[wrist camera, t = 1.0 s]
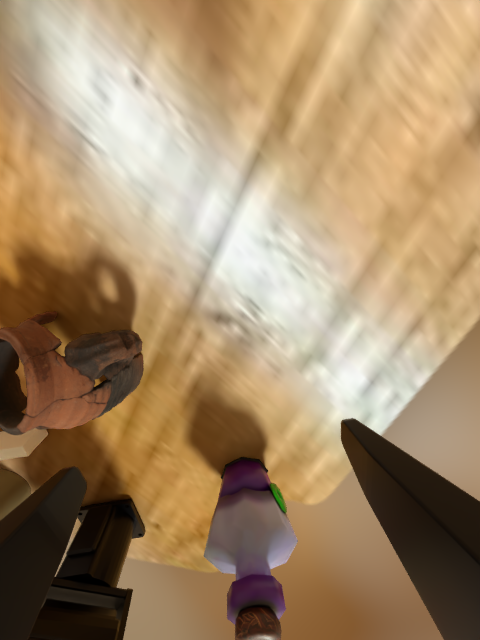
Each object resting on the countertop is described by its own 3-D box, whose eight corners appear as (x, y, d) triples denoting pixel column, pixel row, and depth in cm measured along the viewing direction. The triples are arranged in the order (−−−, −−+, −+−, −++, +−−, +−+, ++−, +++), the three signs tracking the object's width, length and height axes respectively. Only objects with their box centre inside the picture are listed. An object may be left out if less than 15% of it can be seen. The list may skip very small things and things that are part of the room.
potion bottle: (294, 466, 27) (346, 630, 16) (250, 507, 29) (266, 680, 17) (238, 435, 25) (249, 599, 13) (193, 482, 27) (171, 660, 15)
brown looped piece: (108, 413, 23) (-2, 467, 16) (75, 333, 24) (-41, 346, 17) (190, 370, 19) (92, 416, 11) (146, 273, 20) (30, 255, 12)
